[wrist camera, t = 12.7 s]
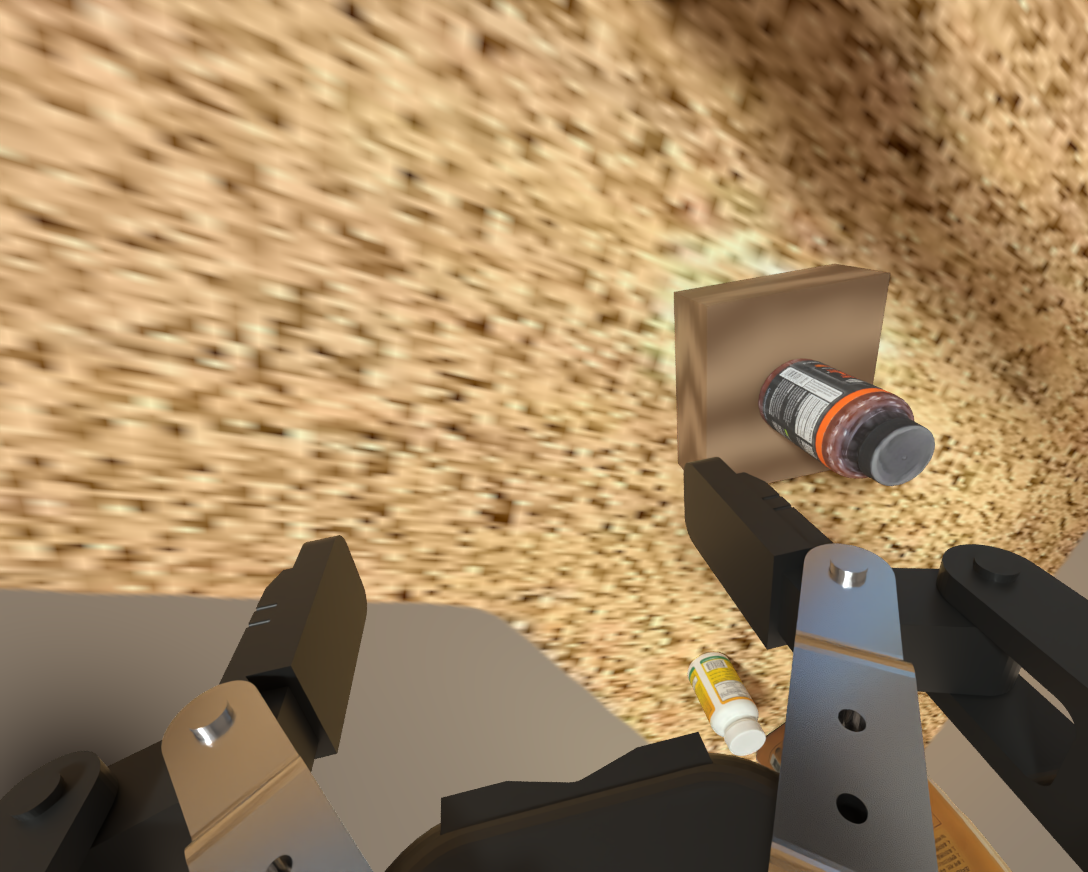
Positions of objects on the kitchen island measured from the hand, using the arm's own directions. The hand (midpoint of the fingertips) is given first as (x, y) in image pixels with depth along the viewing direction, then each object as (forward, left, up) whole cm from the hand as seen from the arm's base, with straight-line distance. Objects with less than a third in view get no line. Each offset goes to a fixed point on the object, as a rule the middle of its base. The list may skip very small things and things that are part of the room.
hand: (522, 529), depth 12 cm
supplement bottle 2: (+10, +23, -24) cm, 35 cm away
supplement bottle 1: (+47, +19, -30) cm, 59 cm away
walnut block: (+10, +23, -30) cm, 39 cm away
